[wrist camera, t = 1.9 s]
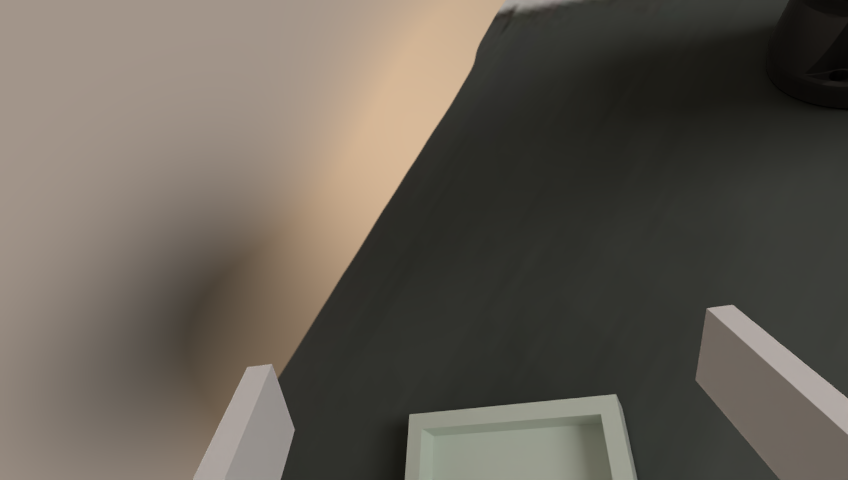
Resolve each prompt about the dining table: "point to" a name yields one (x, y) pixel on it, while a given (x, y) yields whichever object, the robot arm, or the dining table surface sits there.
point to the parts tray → (522, 442)
